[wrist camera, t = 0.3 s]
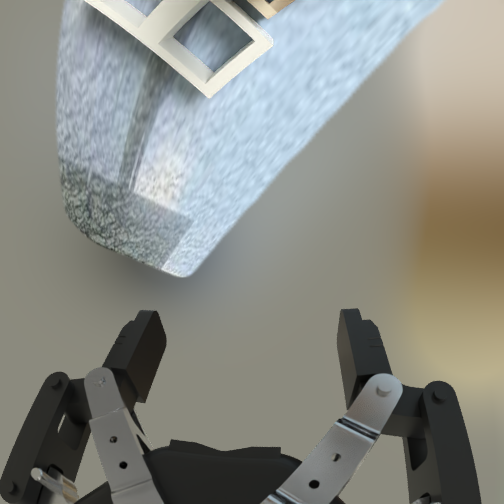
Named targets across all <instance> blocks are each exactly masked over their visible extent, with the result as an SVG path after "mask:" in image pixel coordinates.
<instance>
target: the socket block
mask: <svg viewBox="0 0 504 504" xmlns="http://www.w3.org/2000/svg"><path fill="white" fill-rule="evenodd" d="M247 1H248V2H250V3H251V4H252V5H253V6H254V7H255V8H256V9H257V10H258V11H259V12H260V13H261V14H262V15H263V16H264V17H266V18H267V19H269V18H271V17H272V16H273V15H275V14H276V13H277V12H279V11H280V10H282V9H283V8H284V7H286V6H287V5H289V4H290V3H292V2H293V1H295V0H274V1H272V2H271V3H269V2H268V1H266V0H247Z"/></svg>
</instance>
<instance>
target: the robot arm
mask: <svg viewBox="0 0 504 504" xmlns="http://www.w3.org/2000/svg"><path fill="white" fill-rule="evenodd" d="M165 348H166V334H165V332H164V329H163V325H162V323H161V320H160V317H159V314H158V312H157V311H151V310H149V311H148V310H141V311H139V313H138V315H137V317H136V318H135V320H134V321H130V322H129V323H128V324H126V325H125V326H124V327H123V328H122V330H121V332H120V334H119V336H118V338H117V339H116V341H115V344H114V345H113V347H112V348H111V350H110V352H109V354H108V356H107V358H106V360H105V362H104V364H103V366H102V367H100V368H96V369H93V370H92V371H90V372H89V373H88V375H87V376H86V377H85V378H82V379H73V380H70V379H69V377H68V376H67V374H65V373H63V372H55V373H53V374H51V375H50V376H49V377H47V379H46V380H45V382H44V383H43V385H42V387H41V389H40V391H39V393H38V395H37V397H36V399H35V401H34V403H33V405H32V407H31V409H30V411H29V413H28V416H27V418H26V420H25V422H24V424H23V426H22V429H21V431H20V433H19V435H18V437H17V440H16V442H15V445H14V446H13V449H12V452H11V454H10V456H9V459H8V461H7V464H6V466H5V469H4V471H3V474H2V477H1V480H0V494H1V496H2V498H3V499H4V500H5V501H6V502H8V503H10V504H345V503H344V502H343V501H342V500H341V499H340V498H339V497H338V496H339V494H340V493H341V491H342V490H343V489H344V488H345V486H346V485H347V484H348V482H349V481H350V480H351V478H352V477H353V475H354V474H355V473H356V471H357V470H358V468H359V467H360V465H361V464H362V462H363V460H364V459H365V458H366V456H367V455H368V453H369V452H370V450H371V449H372V447H373V446H374V444H375V443H376V441H377V439H378V438H379V436H380V434H385V435H393V436H399V437H402V439H403V446H404V453H405V461H406V470H407V478H408V490H409V501H410V504H481V497H480V491H479V485H478V479H477V474H476V469H475V464H474V459H473V455H472V451H471V446H470V442H469V438H468V434H467V430H466V427H465V423H464V420H463V416H462V413H461V409H460V406H459V403H458V400H457V396H456V393H455V391H454V389H453V388H452V387H451V386H450V385H449V384H448V383H446V382H443V381H433V382H431V383H429V384H428V385H427V386H426V387H425V388H424V389H423V388H415V387H409V386H405V385H403V384H401V382H400V381H399V380H398V379H397V378H396V377H395V376H393V374H392V371H391V368H390V365H389V362H388V359H387V355H386V352H385V348H384V346H383V342H382V339H381V336H380V333H379V330H378V327H377V326H376V325H375V324H374V323H373V322H372V321H371V320H362V318H361V315H360V312H359V309H341V311H340V318H339V326H338V333H337V349H338V354H339V361H340V367H341V374H342V380H343V386H344V393H345V400H346V407H347V410H348V411H347V413H346V414H345V415H344V417H343V418H342V419H338V420H337V421H336V422H335V423H334V425H333V426H332V427H331V429H330V430H329V431H328V432H327V434H326V435H325V436H324V438H323V439H322V440H321V441H320V442H319V444H318V445H317V446H316V448H314V450H313V451H312V452H311V453H310V454H309V455H308V457H307V458H306V459H305V460H304V461H303V462H302V461H300V460H298V459H296V458H294V457H291V456H288V455H285V454H281V447H248V448H243V449H236V450H230V451H220V450H216V449H213V448H210V447H207V446H204V445H202V444H198V443H195V442H186V441H179V440H171V441H170V445H169V446H165V447H161V448H158V449H154V448H153V447H152V445H151V443H150V441H149V439H148V437H147V435H146V433H145V431H144V428H143V426H142V424H141V422H140V420H139V417H138V415H137V412H136V410H135V408H134V405H135V403H136V402H140V403H145V402H146V399H147V396H148V394H149V391H150V388H151V385H152V383H153V380H154V377H155V375H156V372H157V369H158V367H159V364H160V361H161V359H162V356H163V353H164V351H165ZM63 414H64V415H65V418H64V420H63V423H62V425H61V428H60V430H59V433H58V426H59V424H60V422H61V419H62V417H63ZM91 432H92V435H93V439H94V442H95V445H96V448H97V451H98V454H99V457H100V461H101V464H102V466H103V469H104V472H105V475H106V478H107V480H108V481H107V482H105V483H104V484H102V485H101V486H99V487H98V488H96V489H95V490H93V491H92V492H90V493H89V494H87V495H85V496H84V497H82V498H81V499H79V496H78V494H77V488H76V486H75V484H74V482H75V478H76V475H77V472H78V469H79V466H80V463H81V460H82V456H83V453H84V450H85V447H86V444H87V442H88V439H89V436H90V433H91Z"/></svg>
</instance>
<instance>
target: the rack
mask: <svg viewBox="0 0 504 504" xmlns="http://www.w3.org/2000/svg"><path fill="white" fill-rule="evenodd" d="M84 1H86V2H87V3H89V4H90V5H92V6H93V7H95V8H96V9H97V10H99V11H100V12H102V13H103V14H105V15H106V16H107V17H109V18H110V19H111V20H113V21H114V22H116V23H117V24H118V25H120V26H121V27H122V28H124V29H125V30H126V31H128V32H129V33H130V34H132V35H133V36H134V37H136V38H137V39H138V40H139V41H141V42H142V43H143V44H145V45H146V46H147V47H148V48H150V49H151V50H152V51H153V52H155V53H156V54H157V55H158V56H160V57H161V58H162V59H163V60H164V61H166V62H167V63H168V64H169V65H170V66H172V67H173V68H174V69H175V70H176V71H178V72H179V73H180V74H181V75H182V76H184V77H185V78H186V79H187V80H188V81H189V82H191V83H192V84H193V85H194V86H195V87H196V88H197V89H199V90H200V91H201V92H202V93H203V94H204V95H205V96H206V97H208V98H209V99H210V98H211V97H212V96H213V95H214V94H215V93H216V92H217V91H219V90H220V89H221V88H222V87H223V86H224V85H225V84H227V83H228V82H229V81H230V80H231V79H232V78H234V77H235V76H236V75H237V74H238V73H239V72H241V71H242V70H243V69H244V68H246V67H247V66H248V65H249V64H251V63H252V62H253V61H254V60H256V59H257V58H258V57H259V56H261V55H262V54H263V53H264V52H266V51H267V50H268V49H270V48H271V47H272V46H273V43H274V39H273V38H272V37H271V36H270V35H269V34H268V33H267V32H266V31H265V30H264V29H263V28H262V27H261V26H260V25H259V24H258V23H257V22H255V21H254V20H253V19H252V18H251V17H250V16H249V15H248V14H247V13H246V12H245V11H244V10H243V9H241V8H240V7H239V6H238V5H237V4H236V3H235V2H234V1H232V0H163V1H162V2H161V3H160V4H159V5H158V6H157V7H156V8H155V9H154V10H153V11H152V13H151V14H150V15H149V16H148V17H147V16H145V15H144V14H143V13H141V12H140V11H139V10H137V9H136V8H135V7H133V6H132V5H130V4H129V3H128V2H126V1H125V0H84ZM209 1H211V2H212V3H213V4H215V5H216V6H217V7H218V8H219V9H220V10H222V11H223V12H224V13H225V14H226V15H227V16H228V17H230V18H231V19H232V20H233V21H234V22H235V23H236V24H237V25H238V26H239V27H241V28H242V29H243V30H244V31H245V32H246V33H247V34H248V35H249V36H250V37H251V38H252V39H253V40H252V41H251V42H249V43H248V44H247V45H246V46H244V47H243V48H242V49H241V50H239V51H238V52H237V53H236V54H235V55H234V56H232V57H231V58H230V59H229V60H228V61H227V62H225V63H224V64H223V65H222V66H221V67H220V68H219V69H217V70H216V71H215V72H213V71H212V70H211V69H210V68H209V67H207V66H206V65H205V64H204V63H203V62H202V61H201V60H199V59H198V58H197V57H196V56H195V55H194V54H192V53H191V52H190V51H189V50H188V49H187V48H185V47H184V46H183V45H182V44H181V43H179V42H178V41H177V40H176V39H175V38H173V36H174V34H175V33H176V32H177V31H178V30H179V29H180V28H181V27H182V26H183V25H184V24H185V23H186V22H187V21H188V20H190V19H191V18H192V17H193V16H194V15H195V14H196V13H197V12H198V11H199V10H200V9H201V8H202V7H203V6H205V5H206V4H207V3H208V2H209Z"/></svg>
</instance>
